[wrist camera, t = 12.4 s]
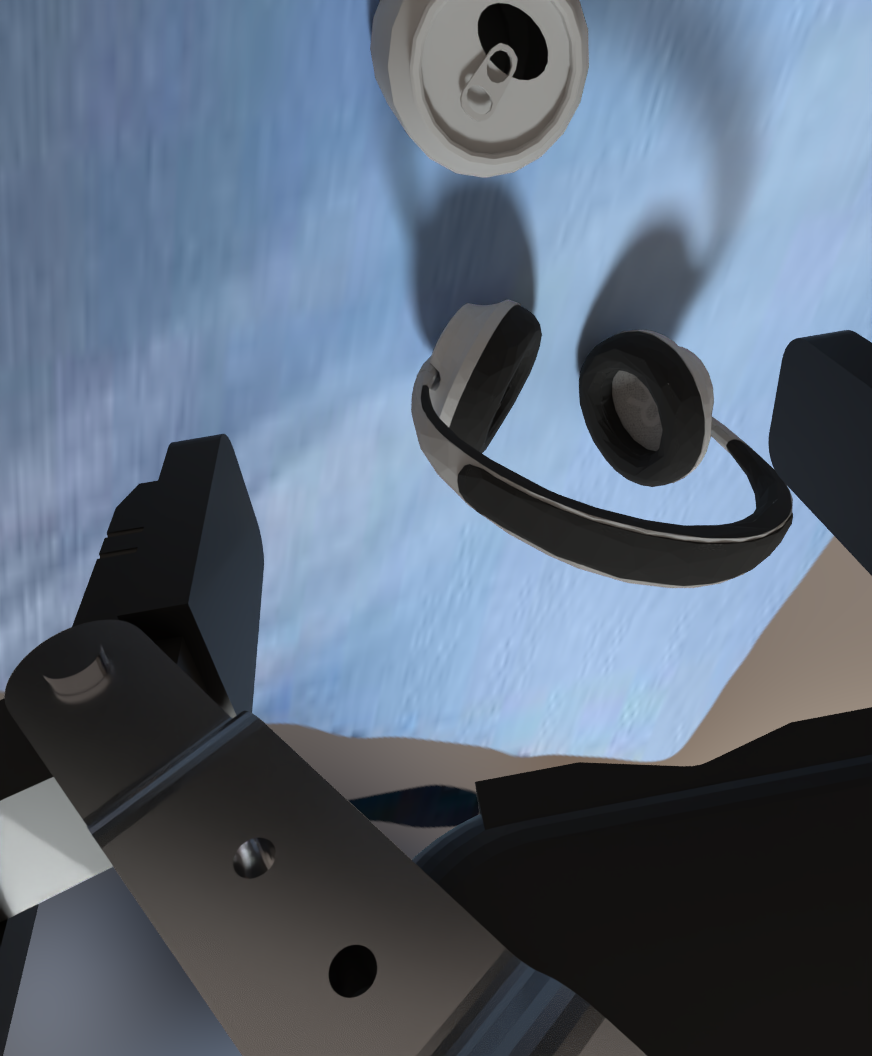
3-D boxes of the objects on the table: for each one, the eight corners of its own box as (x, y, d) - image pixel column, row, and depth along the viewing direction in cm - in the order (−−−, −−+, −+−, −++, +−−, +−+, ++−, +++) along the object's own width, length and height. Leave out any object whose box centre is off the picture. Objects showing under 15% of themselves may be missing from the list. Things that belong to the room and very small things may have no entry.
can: (556, 26, 36) (647, 43, 26) (461, 167, 39) (512, 227, 29) (431, -97, 32) (482, -129, 23) (338, 67, 36) (349, 99, 26)
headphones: (710, 324, 46) (925, 507, 30) (656, 442, 51) (817, 655, 35) (407, 262, 41) (470, 440, 25) (378, 398, 46) (416, 622, 30)
